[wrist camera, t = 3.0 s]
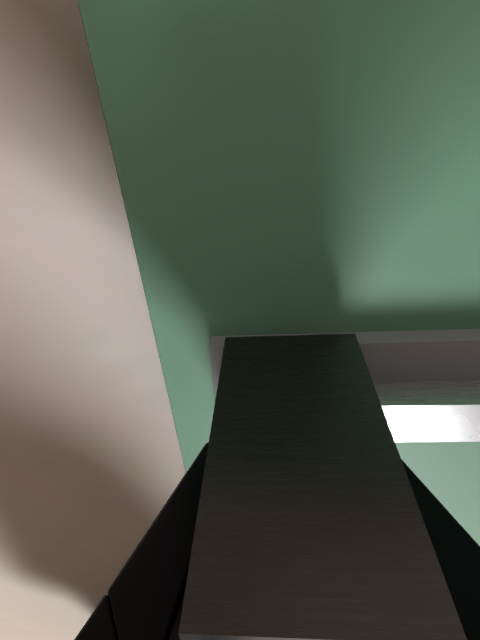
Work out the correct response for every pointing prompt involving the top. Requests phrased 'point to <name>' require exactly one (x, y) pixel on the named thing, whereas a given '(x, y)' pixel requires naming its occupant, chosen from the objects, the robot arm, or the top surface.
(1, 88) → the top surface
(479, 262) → the pitch
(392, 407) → the push rod
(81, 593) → the top surface
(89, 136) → the top surface
